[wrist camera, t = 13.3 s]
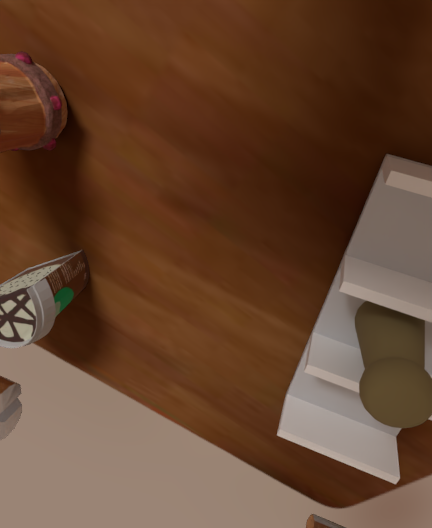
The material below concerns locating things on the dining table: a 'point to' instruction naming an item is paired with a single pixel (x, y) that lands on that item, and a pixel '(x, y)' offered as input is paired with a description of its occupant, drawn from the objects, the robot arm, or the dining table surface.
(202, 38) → the dining table surface
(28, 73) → the mug
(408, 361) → the cork
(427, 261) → the slot rack
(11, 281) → the food container
